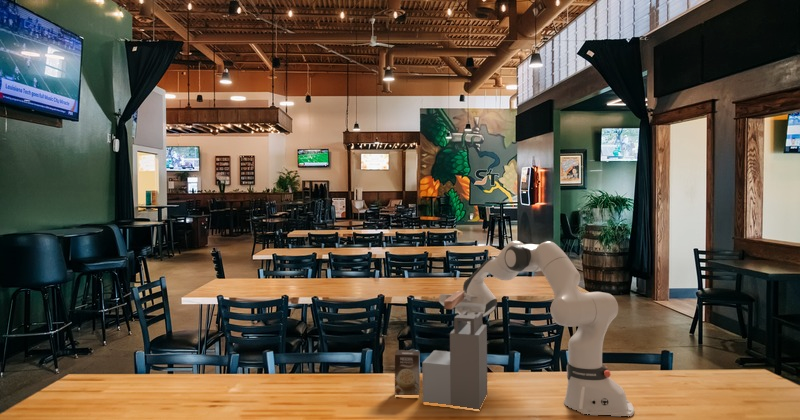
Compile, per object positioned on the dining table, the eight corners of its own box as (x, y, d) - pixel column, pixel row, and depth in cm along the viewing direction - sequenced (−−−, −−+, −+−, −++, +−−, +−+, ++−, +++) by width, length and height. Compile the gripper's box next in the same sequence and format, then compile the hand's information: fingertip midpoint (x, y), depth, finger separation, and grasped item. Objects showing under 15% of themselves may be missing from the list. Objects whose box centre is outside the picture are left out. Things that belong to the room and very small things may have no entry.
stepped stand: (487, 395, 190) (486, 309, 190) (479, 411, 175) (478, 319, 175) (434, 389, 197) (433, 307, 196) (422, 405, 181) (421, 315, 181)
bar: (465, 298, 220) (464, 291, 220) (451, 309, 197) (451, 301, 197) (458, 297, 221) (458, 290, 221) (444, 308, 198) (444, 301, 198)
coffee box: (394, 398, 188) (393, 354, 188) (395, 392, 194) (395, 349, 194) (419, 399, 187) (418, 355, 187) (420, 392, 193) (419, 350, 193)
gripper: (443, 297, 233) (436, 286, 222) (488, 300, 226) (484, 288, 215) (441, 311, 230) (434, 300, 219) (487, 314, 224) (482, 303, 212)
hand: (459, 294), depth 217 cm, fingers closed on bar, 3 cm apart
